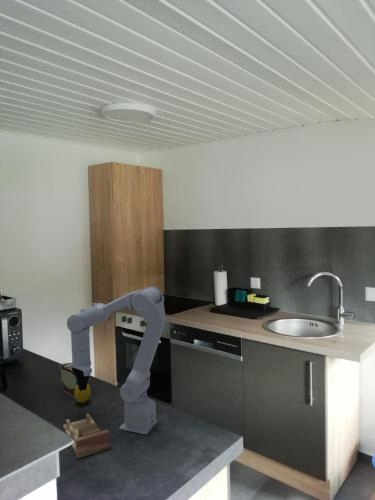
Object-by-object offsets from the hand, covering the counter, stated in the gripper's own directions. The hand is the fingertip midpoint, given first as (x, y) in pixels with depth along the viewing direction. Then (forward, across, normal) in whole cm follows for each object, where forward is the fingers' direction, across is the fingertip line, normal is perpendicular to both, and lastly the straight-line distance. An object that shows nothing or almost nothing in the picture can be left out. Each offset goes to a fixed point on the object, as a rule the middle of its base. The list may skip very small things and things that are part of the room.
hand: (82, 389), depth 124 cm
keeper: (+8, +17, -3) cm, 19 cm away
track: (+9, +12, -3) cm, 16 cm away
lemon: (+10, -10, +2) cm, 14 cm away
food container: (+10, -20, +2) cm, 23 cm away
